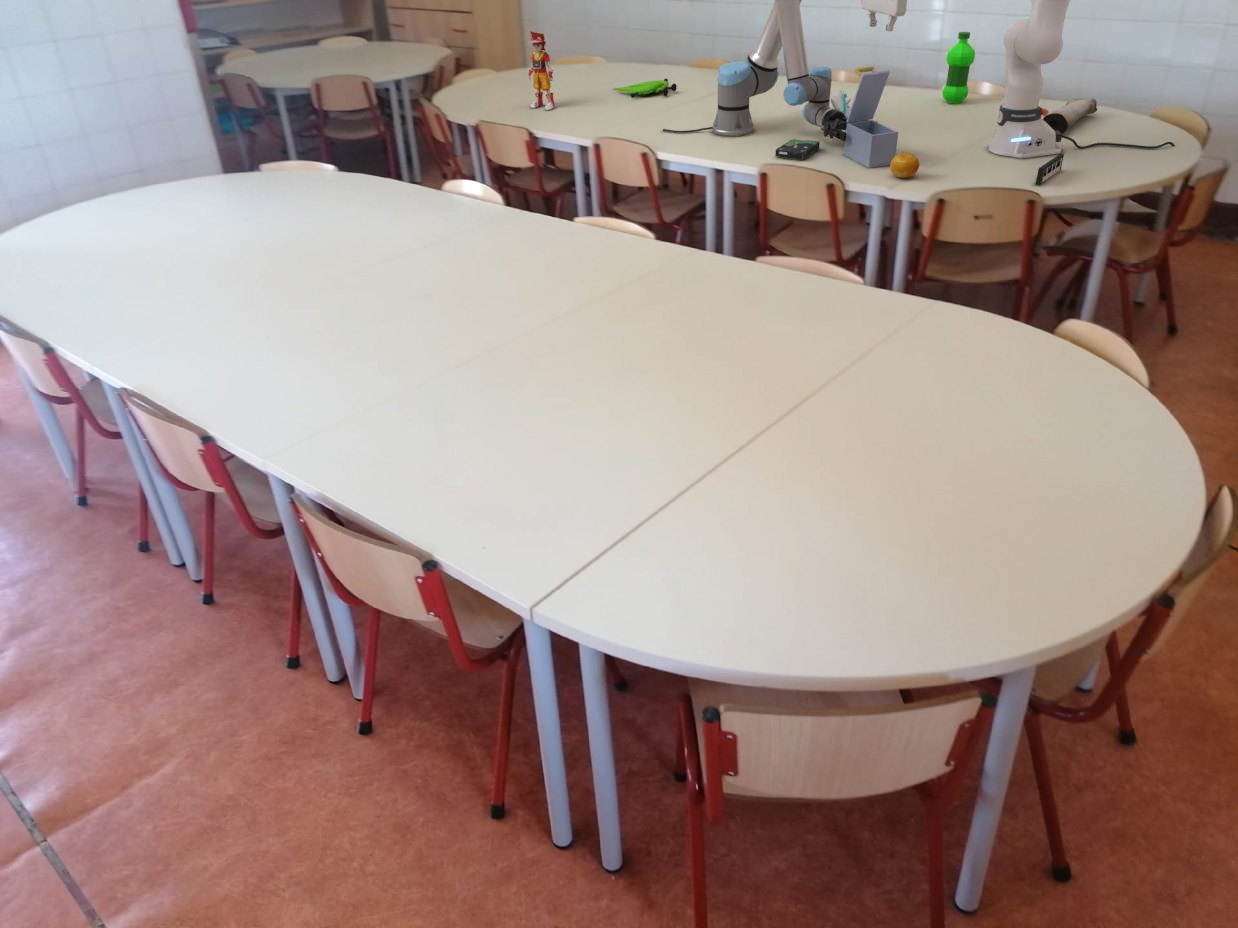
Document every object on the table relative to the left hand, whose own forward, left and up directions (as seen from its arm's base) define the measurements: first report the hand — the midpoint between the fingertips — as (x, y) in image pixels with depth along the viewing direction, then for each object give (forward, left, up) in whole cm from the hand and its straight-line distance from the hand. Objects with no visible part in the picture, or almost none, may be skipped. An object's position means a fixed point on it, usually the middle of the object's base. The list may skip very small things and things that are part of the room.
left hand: (863, 134), depth 300 cm
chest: (+4, -3, -7) cm, 9 cm away
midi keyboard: (+60, -3, -7) cm, 60 cm away
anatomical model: (-22, +46, -7) cm, 52 cm away
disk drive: (-21, -6, -7) cm, 22 cm away
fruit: (+19, -18, -7) cm, 27 cm away
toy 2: (-119, +59, -7) cm, 133 cm away
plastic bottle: (+11, +81, -7) cm, 82 cm away
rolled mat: (+55, +61, -7) cm, 83 cm away
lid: (+1, 0, +12) cm, 12 cm away
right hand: (+3, -3, +33) cm, 33 cm away
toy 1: (-146, +21, -7) cm, 148 cm away
